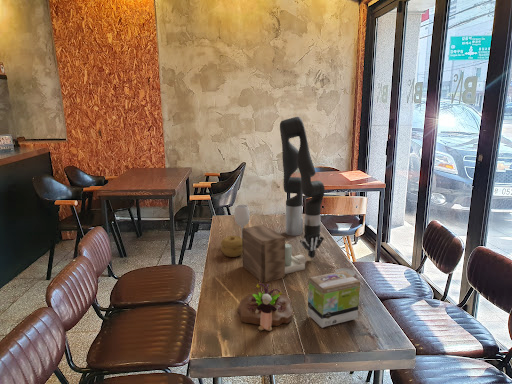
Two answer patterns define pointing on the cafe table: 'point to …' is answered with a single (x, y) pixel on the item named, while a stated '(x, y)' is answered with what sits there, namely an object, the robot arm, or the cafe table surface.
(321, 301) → the tea box
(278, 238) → the wood grain block
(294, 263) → the tray
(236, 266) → the cafe table surface
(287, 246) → the pale green rounded cylinder
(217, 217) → the cafe table surface
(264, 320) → the grandmother figurine
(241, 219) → the wineglass
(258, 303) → the plant
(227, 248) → the pot
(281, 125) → the robot arm
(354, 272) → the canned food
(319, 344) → the cafe table surface
